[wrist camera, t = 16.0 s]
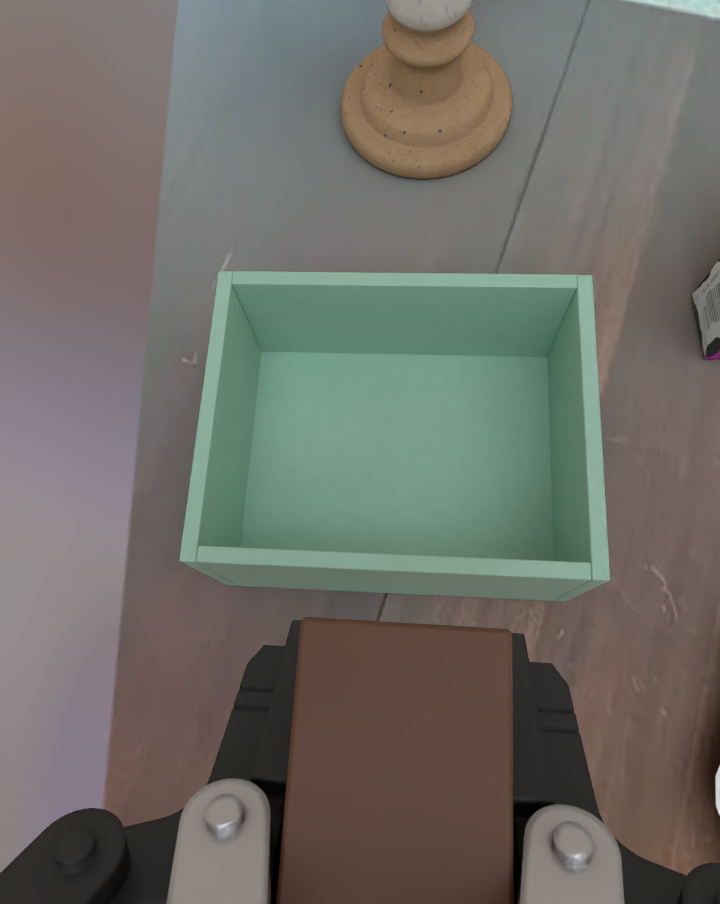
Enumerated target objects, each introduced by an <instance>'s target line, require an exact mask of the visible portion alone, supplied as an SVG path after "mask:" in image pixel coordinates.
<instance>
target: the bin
mask: <svg viewBox="0 0 720 904" xmlns="http://www.w3.org/2000/svg"><path fill="white" fill-rule="evenodd" d="M179 561H180V562H182V563H184V564H186V565H188V566H190V567H192V568H194V569H196V570H198V571H200V572H202V573H204V574H206V575H208V576H210V577H212V578H214V579H216V580H217V581H219V582H221V583H223V584H225V585H227V586H248V587H269V588H290V589H311V590H332V591H353V592H374V593H395V594H416V595H437V596H458V597H479V598H500V599H521V600H542V601H563V602H566V601H568V600H570V599H572V598H574V597H577V596H579V595H581V594H583V593H585V592H587V591H589V590H591V589H593V588H595V587H597V586H599V585H601V584H604V583H606V582H608V581H610V569H609V552H608V535H607V518H606V501H605V484H604V467H603V450H602V433H601V416H600V399H599V382H598V365H597V347H596V330H595V313H594V296H593V279H592V275H577V276H576V275H561V274H460V273H358V272H257V271H233V272H230V271H220V272H219V273H218V280H217V288H216V295H215V302H214V309H213V317H212V324H211V331H210V339H209V346H208V353H207V361H206V368H205V375H204V383H203V390H202V397H201V404H200V412H199V419H198V426H197V434H196V441H195V448H194V456H193V463H192V470H191V477H190V485H189V492H188V499H187V507H186V514H185V521H184V529H183V536H182V543H181V550H180V558H179Z"/></svg>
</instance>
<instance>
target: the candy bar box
mask: <svg viewBox="0 0 720 904" xmlns="http://www.w3.org/2000/svg"><path fill="white" fill-rule="evenodd" d="M692 300H693V305H694V310H695V314H696V318H697V322H698V328H699V334H700V341H701V346H702V350H703V354H704V358H705V359H720V259H719V261H718V262H717V263H716V264H715V266H714V267H713V268H712V270H711V271H710V272H709V273H708V275H707V276H706V277H705V279H704V280H703V281H702V282H701V284H700V285H699V286H698V288H697V289H696V290H695V291H694V292H693V294H692Z"/></svg>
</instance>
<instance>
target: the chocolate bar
mask: <svg viewBox="0 0 720 904" xmlns="http://www.w3.org/2000/svg"><path fill="white" fill-rule="evenodd" d="M276 904H514V848H513V699H512V634H511V632H510V631H509V630H507V629H496V628H480V627H463V626H446V625H430V624H413V623H396V622H379V621H363V620H346V619H329V618H312V617H306V618H303V619H302V621H301V625H300V636H299V647H298V658H297V670H296V681H295V692H294V703H293V715H292V726H291V737H290V749H289V760H288V771H287V782H286V794H285V805H284V816H283V828H282V839H281V850H280V861H279V873H278V884H277V895H276Z"/></svg>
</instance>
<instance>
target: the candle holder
mask: <svg viewBox="0 0 720 904" xmlns="http://www.w3.org/2000/svg"><path fill="white" fill-rule="evenodd" d="M472 1H473V0H385V3H386V6H387V8H388V10H389V11H388V13H387V15H386V17H385V19H384V22H383V26H382V37H383V41H384V44H385V45H383V46H381V47H379V48H377V49H376V50H374V51H373V52H371V53H370V54H369V55H367V56H366V57H365V58H364V59H363V60H362V61H361V62H360V63H359V64H358V65H357V66H356V67H355V69H354V70H353V71H352V73H351V75H350V76H349V78H348V80H347V82H346V85H345V88H344V91H343V94H342V101H341V117H342V122H343V126H344V130H345V132H346V134H347V136H348V138H349V140H350V142H351V144H352V145H353V147H354V148H355V149H356V151H357V152H358V153H359V154H360V155H361V156H362V157H363V158H364V159H365V160H366V161H368V162H369V163H371V164H372V165H374V166H375V167H377V168H379V169H381V170H383V171H386V172H388V173H391V174H394V175H397V176H401V177H407V178H413V179H431V178H441V177H445V176H449V175H453V174H456V173H459V172H461V171H464V170H466V169H468V168H470V167H472V166H474V165H476V164H477V163H479V162H480V161H481V160H483V159H484V158H485V157H487V156H488V155H489V154H490V153H491V152H492V151H493V150H494V149H495V148H496V146H497V145H498V144H499V142H500V141H501V139H502V138H503V136H504V134H505V132H506V129H507V127H508V125H509V121H510V117H511V113H512V93H511V87H510V84H509V82H508V79H507V77H506V74H505V73H504V71H503V69H502V68H501V66H500V65H499V64H498V63H497V61H496V60H495V59H494V58H493V57H492V56H491V55H489V54H488V53H487V52H486V51H484V50H483V49H481V48H479V47H478V46H476V45H474V44H472V43H471V41H472V39H473V35H474V20H473V17H472V14H471V12H470V11H469V8H470V6H471V4H472Z"/></svg>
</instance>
